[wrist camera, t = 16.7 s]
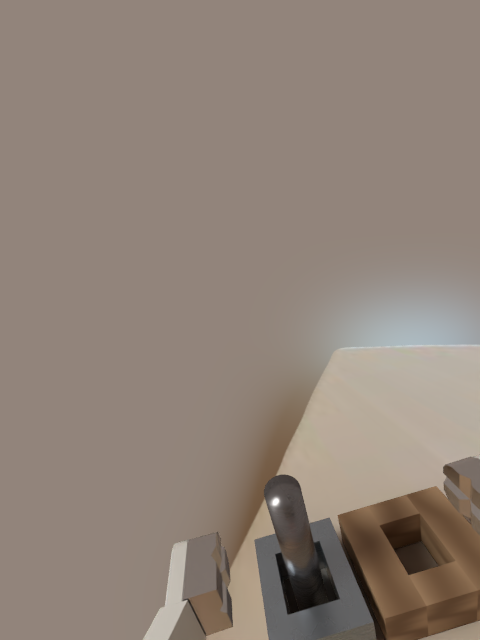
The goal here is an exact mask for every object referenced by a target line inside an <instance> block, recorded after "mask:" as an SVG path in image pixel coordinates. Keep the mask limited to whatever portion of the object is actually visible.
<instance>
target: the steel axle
mask: <svg viewBox="0 0 480 640" xmlns="http://www.w3.org/2000/svg"><path fill="white" fill-rule="evenodd" d="M264 495H265V500H266V503H267V506H268V510H269V513H270V516H271V520H272V523H273V526H274V529H275V533H276V536H277V539H278V543H279V546H280V549H281V552H282V556H283V559H284V562H285V566H286V569H287V572H288V576H289V579H290V582H291V585H292V589H293V592H294V595H295V599H296V602H297V605H298V608H299V611H302V610H306V609H309V608H312V607H315V606H319V605H322V604H325V603H328V598H327V594H326V590H325V586H324V582H323V578H322V573H321V569H320V565H319V561H318V557H317V553H316V549H315V545H314V541H313V537H312V533H311V528H310V524H309V520H308V516H307V512H306V508H305V504H304V500H303V496H302V492H301V488H300V485H299V483H298V481H297V480H296V479H295V478H293V477H291V476H289V475H278V476H275V477H273V478H272V479H271V480H269V481H268V483H267V484H266V486H265V489H264Z"/></svg>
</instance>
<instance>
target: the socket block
mask: <svg viewBox="0 0 480 640" xmlns="http://www.w3.org/2000/svg"><path fill="white" fill-rule="evenodd" d="M310 528H311V533H312V537H313V541H314V545H315V549H316V553H317V557H318V561H319V565H320V569H323V568H326V570H327V573H328V576H329V578H330V581H331V584H332V587H333V590H334V593H335V596H336V599H337V600H335V601H332V602H329V603H325V604H322V605H319V606H315V607H312V608H309V609H306V610H302V611H299V612H296V613H292V614H290V609H289V604H288V600H287V595H286V590H285V586H284V581H283V580H286V579H289V576H288V572H287V569H286V566H285V562H284V559H283V556H282V552H281V549H280V546H279V543H278V539H277V536H276V534H272V535H269V536H266V537H262V538H259V539H255V547H256V554H257V561H258V568H259V575H260V581H261V588H262V595H263V602H264V609H265V616H266V623H267V630H268V637H269V640H377V639H376V633H375V627H374V622H373V619H372V617H371V615H370V612H369V610H368V607H367V605H366V603H365V600H364V598H363V596H362V593H361V591H360V589H359V586H358V584H357V581H356V579H355V577H354V574H353V572H352V570H351V567H350V565H349V563H348V560H347V558H346V556H345V553H344V551H343V548H342V546H341V544H340V541H339V539H338V537H337V534H336V532H335V530H334V527H333V525H332V522H331V520H330V518H327V519H323V520H320V521H316V522H313V523H310Z"/></svg>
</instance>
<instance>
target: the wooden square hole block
mask: <svg viewBox="0 0 480 640" xmlns="http://www.w3.org/2000/svg"><path fill="white" fill-rule="evenodd" d="M338 519H339V524H340V529H341V534H342V540H343V543H344V545H345V547H346V550H347V552H348V554H349V557H350V559H351V561H352V564H353V566H354V568H355V570H356V573H357V575H358V577H359V580H360V582H361V584H362V587H363V589H364V591H365V593H366V596H367V598H368V600H369V603H370V605H371V607H372V610H373V612H374V614H375V616H376V619H377V621H378V623H379V626H380V628H381V630H382V633H383V635H384V637H385V639H386V640H417V639H420V638H423V637H427V636H430V635H433V634H436V633H440V632H443V631H446V630H449V629H453V628H456V627H459V626H462V625H466V624H469V623H472V622H475V621H479V620H480V535H479V534H478V533H477V532H476V531H475V530H474V529H473V528H472V525H471V524H470V523H469V522H468V521H467V520H466V519H465V518H464V516H463V515H462V514H460V513H459V512H458V511H457V510H456V509H455V508H454V506H453V505H452V504H451V502H450V501H449V500H448V499H447V498H446V497H445V495H444V494H443V493H442V492H441V491H440V490H439V489H438V488H437V487H436V486H435V487H431V488H428V489H425V490H421V491H418V492H414V493H411V494H408V495H404V496H401V497H398V498H394V499H391V500H387V501H384V502H381V503H377V504H374V505H371V506H367V507H364V508H360V509H357V510H354V511H350V512H347V513H343V514H340V515H338ZM420 541H422V542H423V544H424V545H425V547H426V548H427V550H428V551H429V553H430V554H431V555H432V557H433V558H434V560H435V561H436V563H437V564H438V567H434V568H431V569H428V570H424V571H421V572H418V573H414V574H411V575H408V573H407V572H406V570H405V568H404V566H403V565H402V563H401V561H400V560H399V558H398V556H397V554H396V553H395V551H394V549H397V548H400V547H403V546H407V545H410V544H413V543H417V542H420Z"/></svg>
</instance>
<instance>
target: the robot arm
mask: <svg viewBox="0 0 480 640" xmlns="http://www.w3.org/2000/svg"><path fill="white" fill-rule="evenodd" d="M443 473H444V474H445V475H446V476H447V478H446V480H445V481H444V491H445V493H446V495H447V497H448V499H449V501H450V502H451V504H452V505H453V506H454V508H455V509H456V510H457V511H458V512H459V513H460V514H462V515H464V516H466V517H468V518H470V521H471V525H472V528H473V529H474V530H475V531H476V532H477V533H478V534H479V535H480V455H477V456H473V457H468V458H465V459H462V460H459V461H456V462H452V463H449V464H446V465H445V466H444V467H443ZM229 584H230V569H229V563H228V557H227V554H226V550H225V548H224V547H223V546H221V538H220V536H219V533H218V532H216V533H212V534H208V535H205V536H201V537H198V538H194V539H190V540H186V541H183V542H180V543H176V544H174V547H173V549H172V555H171V563H170V571H169V579H168V587H167V594H166V602H165V606H164V607H161V608H160V610H159V612H158V613H157V615H156V617H155V619H154V621H153V622H152V624H151V626H150V628H149V630H148V632H147V633H146V635H145V637H144V639H143V640H206V636H207V635H210V634H213V633H216V632H219V631H222V630H225V629H228V628H231V627H233V620H232V601H231V597H230V594H229V592H228V589H227V588H228V586H229Z"/></svg>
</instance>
